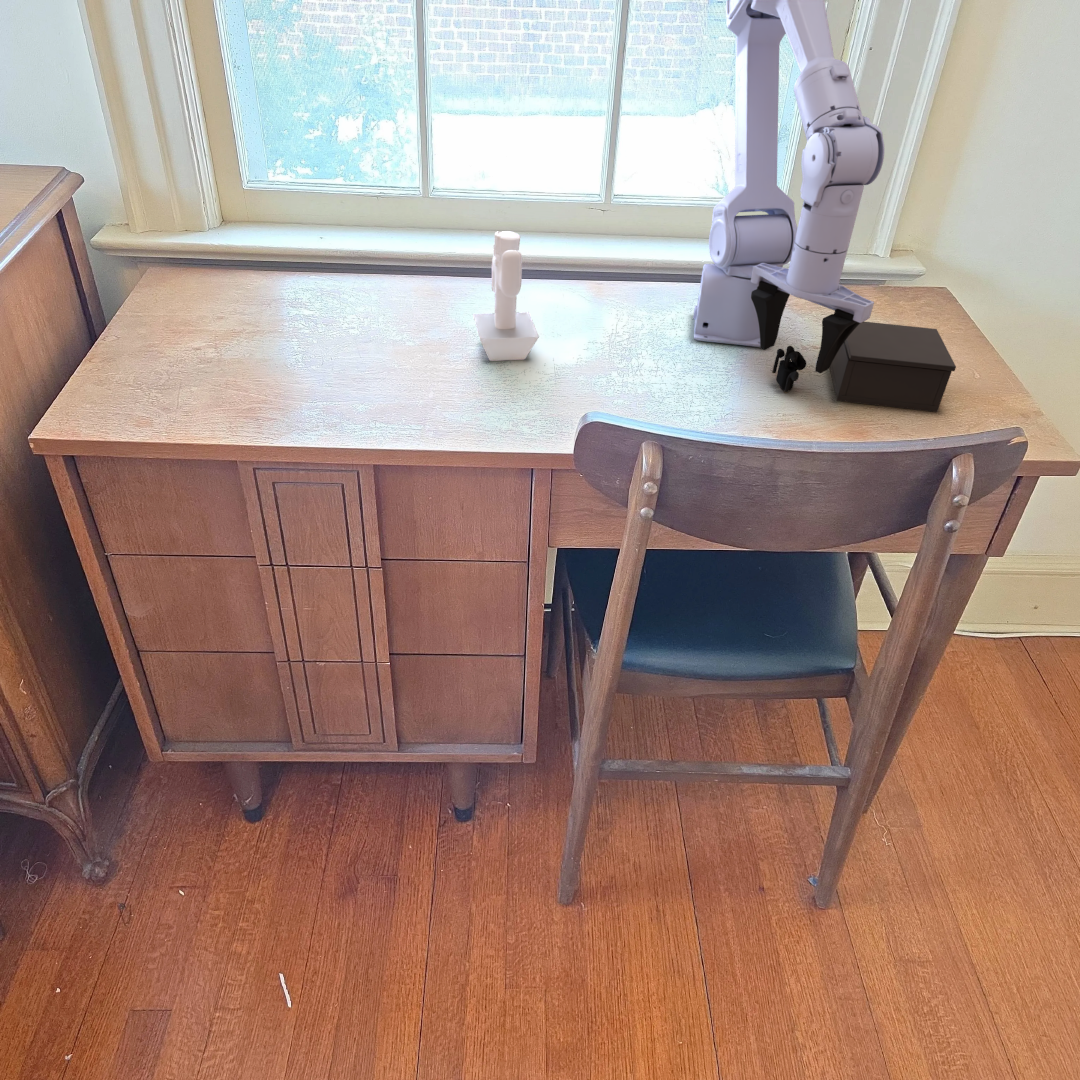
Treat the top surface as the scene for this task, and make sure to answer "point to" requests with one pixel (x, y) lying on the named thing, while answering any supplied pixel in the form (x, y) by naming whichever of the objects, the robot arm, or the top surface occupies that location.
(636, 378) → the top surface
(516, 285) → the figurine
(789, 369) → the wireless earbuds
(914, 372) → the case
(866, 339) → the case lid
